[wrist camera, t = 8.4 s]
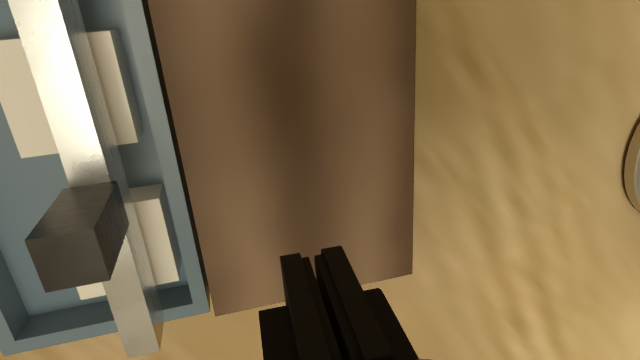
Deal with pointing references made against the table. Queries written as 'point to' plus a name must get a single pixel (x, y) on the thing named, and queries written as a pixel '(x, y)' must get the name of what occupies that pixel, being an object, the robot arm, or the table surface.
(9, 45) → the white tile
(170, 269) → the white tile
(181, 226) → the box
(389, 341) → the robot arm
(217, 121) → the walnut board
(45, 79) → the bar
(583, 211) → the table surface
